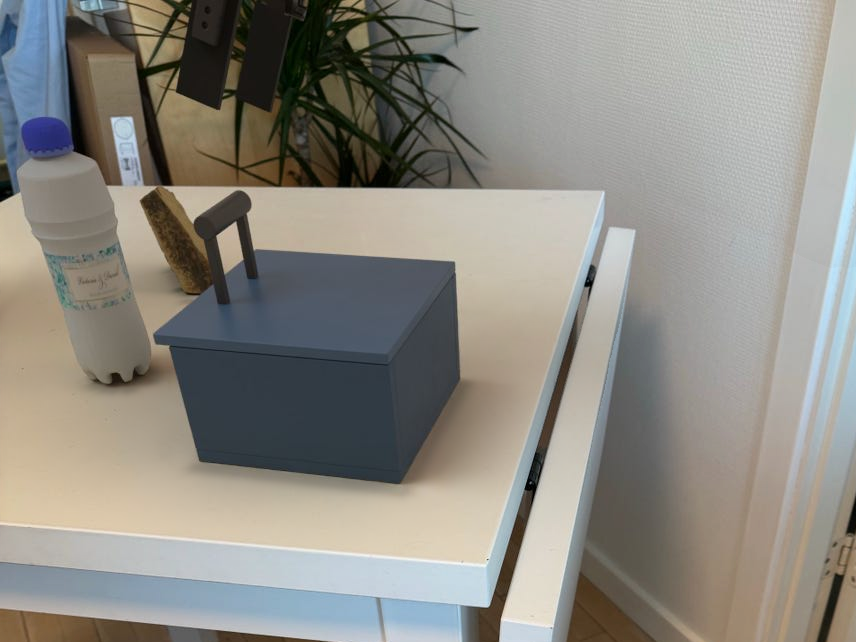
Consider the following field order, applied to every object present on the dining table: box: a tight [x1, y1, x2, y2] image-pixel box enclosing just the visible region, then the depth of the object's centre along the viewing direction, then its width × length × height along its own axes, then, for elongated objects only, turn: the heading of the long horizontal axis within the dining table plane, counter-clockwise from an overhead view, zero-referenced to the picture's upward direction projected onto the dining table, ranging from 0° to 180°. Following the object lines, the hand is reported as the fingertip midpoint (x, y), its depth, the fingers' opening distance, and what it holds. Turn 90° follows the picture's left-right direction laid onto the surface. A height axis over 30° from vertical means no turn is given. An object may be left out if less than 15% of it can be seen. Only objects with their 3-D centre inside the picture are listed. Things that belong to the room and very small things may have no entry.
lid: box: [152, 189, 457, 365], centre depth 65 cm, size 17×17×7 cm
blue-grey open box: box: [168, 271, 461, 485], centre depth 70 cm, size 16×17×9 cm
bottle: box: [16, 116, 152, 385], centre depth 73 cm, size 7×7×20 cm
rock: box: [139, 185, 213, 295], centre depth 95 cm, size 11×9×10 cm
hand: (228, 104), depth 64 cm, fingers open, 13 cm apart
